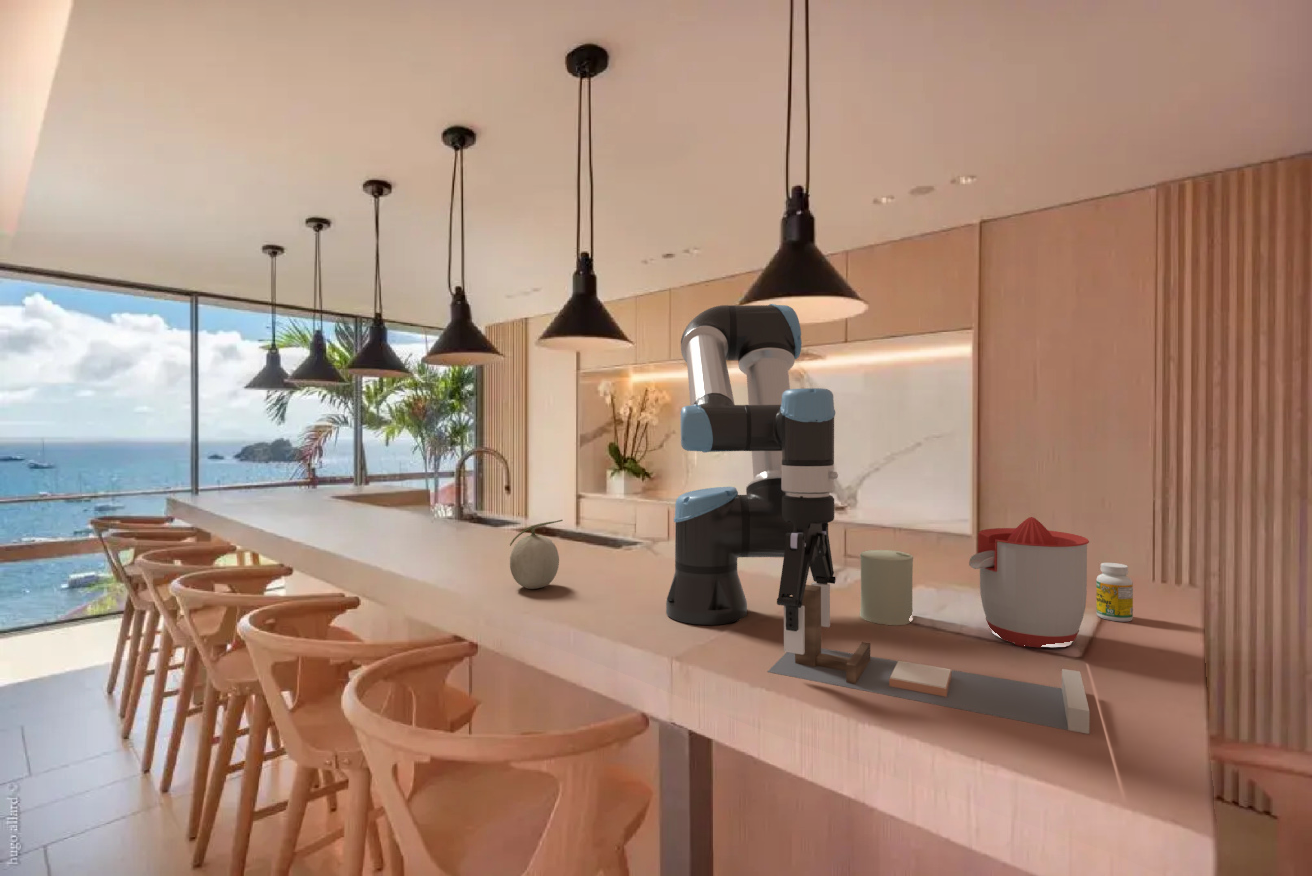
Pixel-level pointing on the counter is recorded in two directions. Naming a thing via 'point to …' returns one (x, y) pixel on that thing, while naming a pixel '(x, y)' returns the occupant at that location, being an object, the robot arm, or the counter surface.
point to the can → (886, 587)
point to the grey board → (966, 692)
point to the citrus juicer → (1032, 583)
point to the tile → (921, 678)
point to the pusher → (813, 642)
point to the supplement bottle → (1114, 593)
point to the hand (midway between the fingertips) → (808, 638)
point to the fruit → (534, 559)
